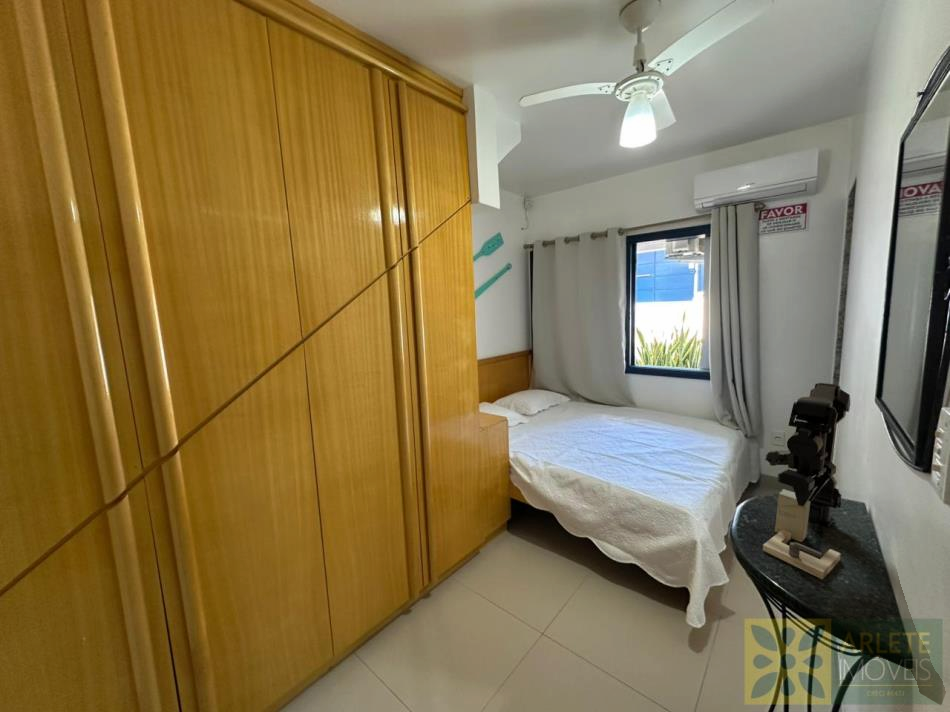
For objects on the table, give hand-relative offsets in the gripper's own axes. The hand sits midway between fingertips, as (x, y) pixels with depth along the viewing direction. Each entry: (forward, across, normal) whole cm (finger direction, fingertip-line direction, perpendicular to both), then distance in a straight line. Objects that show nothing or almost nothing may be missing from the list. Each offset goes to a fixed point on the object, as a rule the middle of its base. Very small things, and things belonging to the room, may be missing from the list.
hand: (804, 503), depth 94 cm
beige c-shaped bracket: (+13, +3, +1) cm, 14 cm away
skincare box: (+14, -6, -4) cm, 15 cm away
